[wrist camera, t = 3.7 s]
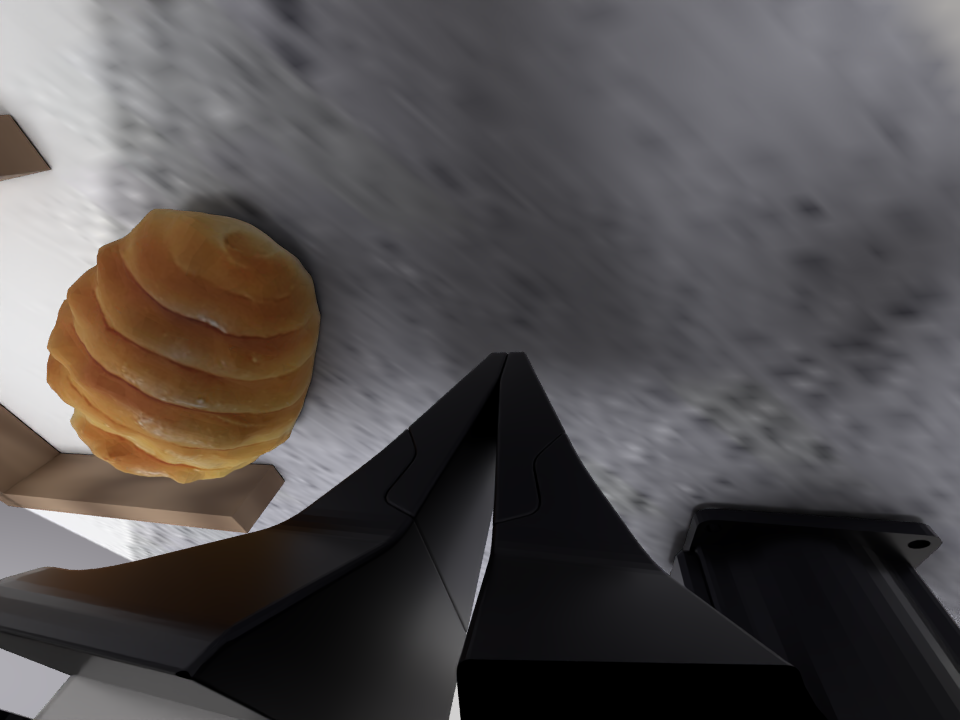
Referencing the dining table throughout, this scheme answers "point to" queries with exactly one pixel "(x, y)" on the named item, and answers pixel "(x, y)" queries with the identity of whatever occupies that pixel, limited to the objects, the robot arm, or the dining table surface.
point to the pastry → (186, 347)
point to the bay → (96, 483)
